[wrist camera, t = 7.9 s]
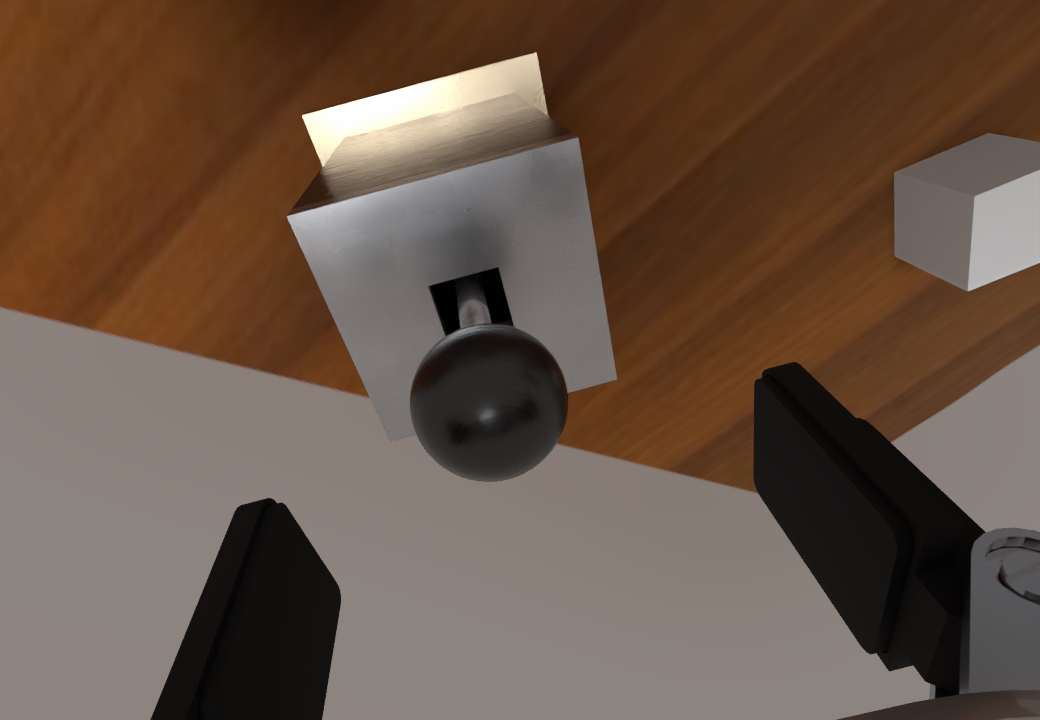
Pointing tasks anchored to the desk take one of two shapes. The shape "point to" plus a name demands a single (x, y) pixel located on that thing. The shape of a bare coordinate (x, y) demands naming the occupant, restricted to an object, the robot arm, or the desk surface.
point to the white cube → (971, 211)
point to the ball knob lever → (487, 392)
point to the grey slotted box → (452, 226)
